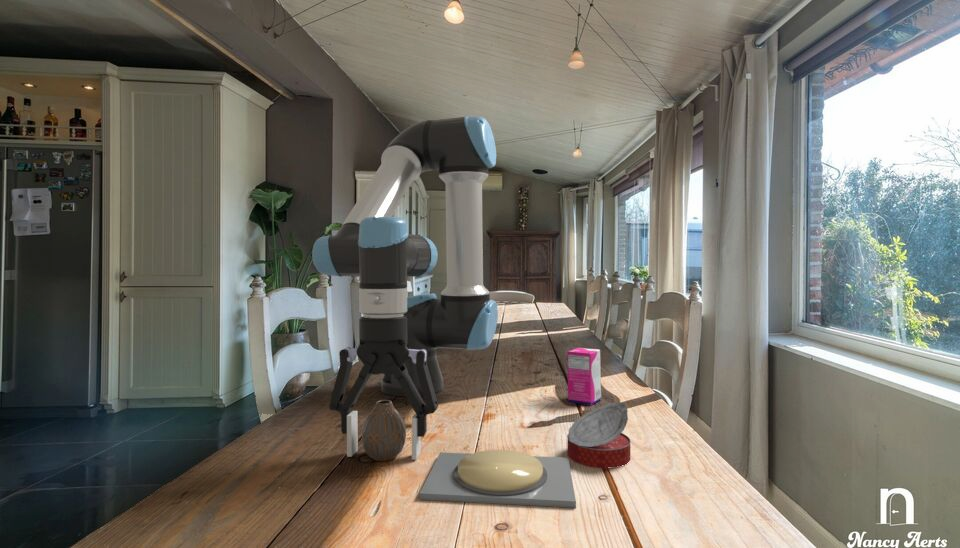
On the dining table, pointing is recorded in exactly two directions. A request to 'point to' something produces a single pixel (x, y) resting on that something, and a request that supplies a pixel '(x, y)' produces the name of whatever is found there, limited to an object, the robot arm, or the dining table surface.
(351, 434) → the robot arm
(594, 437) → the canned food
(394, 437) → the vase
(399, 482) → the dining table surface
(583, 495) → the dining table surface
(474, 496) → the board
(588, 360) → the supplement box
